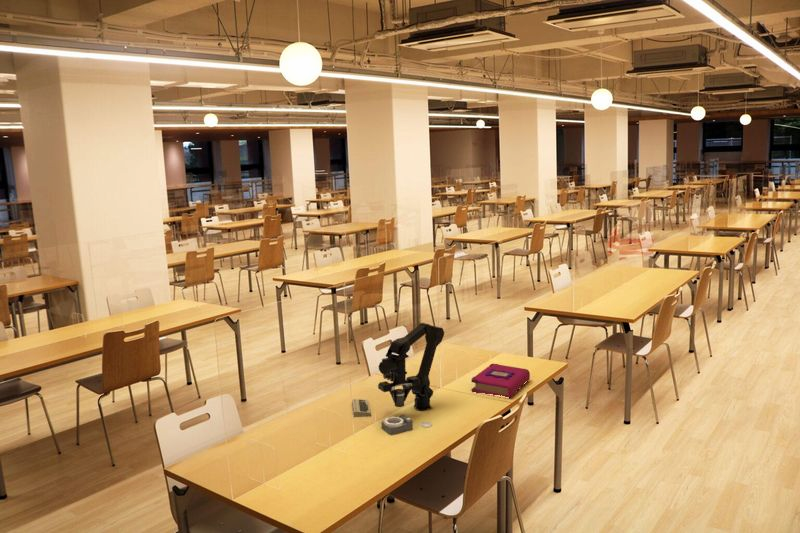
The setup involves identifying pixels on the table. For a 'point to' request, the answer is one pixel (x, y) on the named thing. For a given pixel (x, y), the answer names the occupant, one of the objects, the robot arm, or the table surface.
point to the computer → (361, 408)
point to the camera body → (397, 424)
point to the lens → (400, 398)
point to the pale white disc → (426, 424)
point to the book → (500, 380)
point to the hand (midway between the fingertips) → (399, 401)
